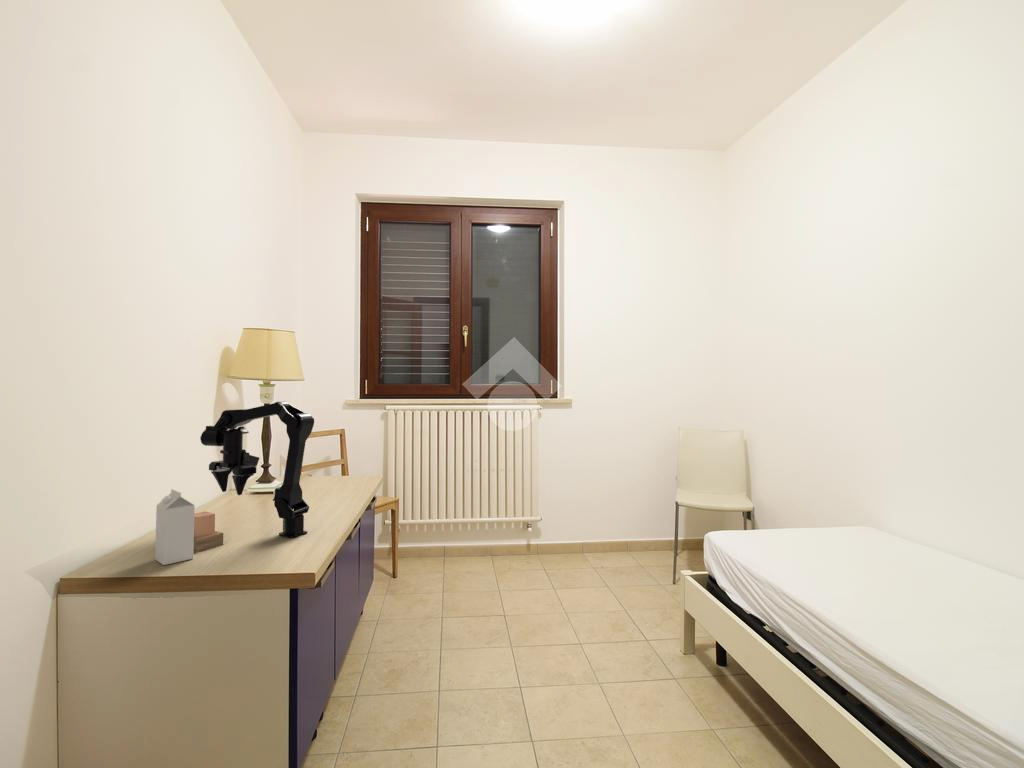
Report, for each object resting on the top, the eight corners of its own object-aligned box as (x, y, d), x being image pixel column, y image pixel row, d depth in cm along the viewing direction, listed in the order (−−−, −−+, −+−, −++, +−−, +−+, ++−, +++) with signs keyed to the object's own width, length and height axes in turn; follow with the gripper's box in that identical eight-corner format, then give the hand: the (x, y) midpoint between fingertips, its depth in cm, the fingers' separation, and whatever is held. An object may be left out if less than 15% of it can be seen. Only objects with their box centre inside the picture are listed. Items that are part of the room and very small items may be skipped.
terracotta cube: (214, 533, 150) (215, 513, 150) (197, 537, 146) (197, 517, 146) (205, 531, 153) (206, 511, 153) (188, 535, 149) (188, 514, 149)
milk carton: (184, 553, 143) (185, 487, 143) (193, 559, 139) (195, 490, 139) (154, 559, 138) (156, 490, 138) (163, 566, 133) (165, 494, 133)
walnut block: (223, 545, 151) (223, 532, 151) (197, 553, 144) (197, 539, 144) (205, 542, 155) (205, 529, 155) (179, 549, 147) (179, 536, 147)
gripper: (271, 446, 170) (270, 492, 170) (240, 442, 180) (239, 486, 180) (239, 450, 161) (238, 498, 160) (208, 445, 170) (207, 491, 170)
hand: (231, 493), depth 168 cm, fingers open, 9 cm apart
